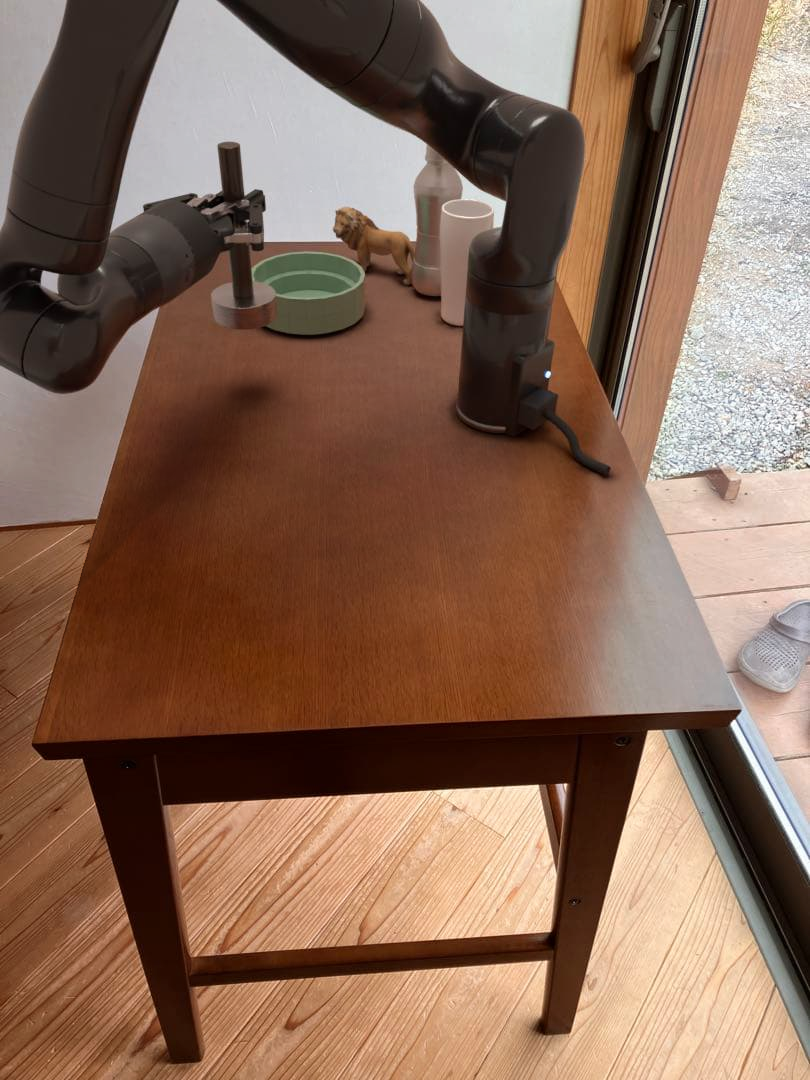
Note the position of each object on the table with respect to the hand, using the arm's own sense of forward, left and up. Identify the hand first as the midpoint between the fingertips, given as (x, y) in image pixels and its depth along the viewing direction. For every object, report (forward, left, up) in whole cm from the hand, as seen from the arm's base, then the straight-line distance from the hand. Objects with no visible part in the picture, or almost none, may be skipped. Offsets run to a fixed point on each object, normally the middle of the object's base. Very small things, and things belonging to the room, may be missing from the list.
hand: (248, 197), depth 93 cm
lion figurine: (+11, -32, -22) cm, 41 cm away
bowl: (+9, -16, -22) cm, 29 cm away
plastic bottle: (+1, -33, -22) cm, 40 cm away
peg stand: (-1, +3, -12) cm, 12 cm away
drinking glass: (-7, -29, -22) cm, 37 cm away
